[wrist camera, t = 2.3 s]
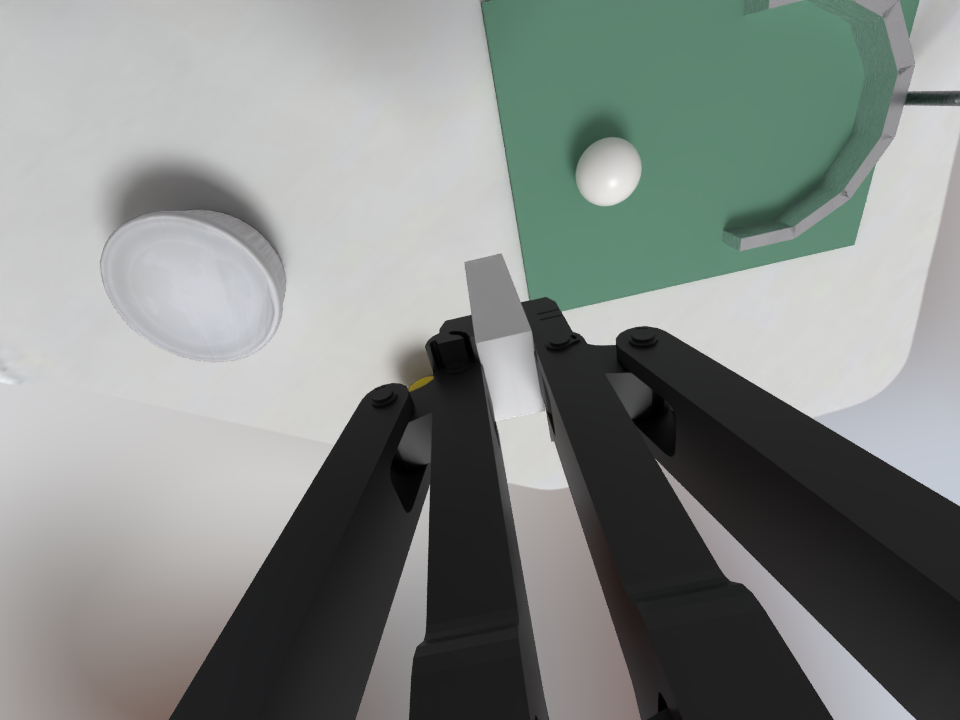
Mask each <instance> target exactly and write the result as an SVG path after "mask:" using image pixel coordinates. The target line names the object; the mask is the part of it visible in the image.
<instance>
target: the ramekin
mask: <svg viewBox="0 0 960 720" xmlns="http://www.w3.org/2000/svg"><path fill="white" fill-rule="evenodd" d="M100 267H101V276H102V281H103V284H104V287H105V290H106V293H107V295H108V297H109V299H110V301H111V302H112V304H113V306H114V308H115V309H116V311H117V312H118V314H119V315H120V316H121V317H122V318H123V320H125V321H126V323H127V324H128V325H129V326H130V327H131V328H132V329H133V330H134V331H136V332H137V333H138V334H139V335H141V336H142V337H144V338H145V339H147V340H148V341H150V342H151V343H153V344H155V345H156V346H158V347H160V348H162V349H164V350H166V351H168V352H171V353H173V354H176V355H179V356H182V357H185V358H189V359H192V360H198V361H205V362H228V361H235V360H239V359H242V358H245V357H248V356H250V355H252V354H254V353H255V352H257V351H259V350H260V349H261V348H263V347H264V346H265V345H266V344H267V343H268V342H269V341H270V339H271V338H272V337H273V335H274V334H275V332H276V331H277V329H278V327H279V324H280V321H281V318H282V311H283V302H284V298H285V291H286V279H285V272H284V270H283V265H282V263H281V262H280V259H279V257H278V255H277V254H276V252H275V250H274V249H273V248H272V247H271V245H270V244H269V242H268V241H267V240H266V239H265V238H264V237H263V236H262V235H261V234H260V233H258V231H257V230H255V229H254V228H252V227H251V226H250V225H248V224H247V223H245V222H243V221H241V220H240V219H237V218H234V217H232V216H230V215H226V214H224V213H221V212H215V211H211V210H184V211H157V212H152V213H148V214H144V215H141V216H139V217H136V218H134V219H132V220H130V221H128V222H126V223H125V224H123V225H122V226H120V227H119V228H118V229H117V230H115V231H114V232H113V233H112V235H111V236H110V237H109V238H108V240H107V242H106V244H105V246H104V248H103V252H102V256H101V260H100Z"/></svg>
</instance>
